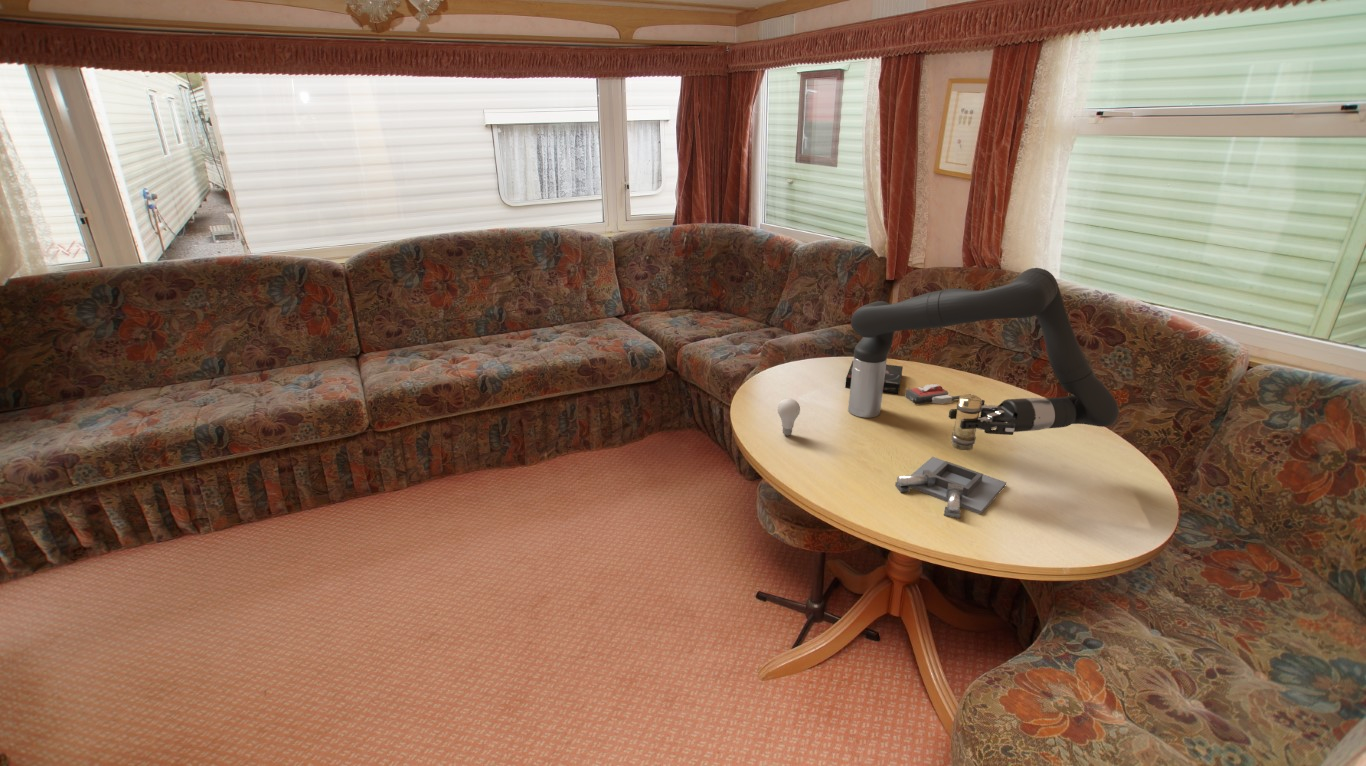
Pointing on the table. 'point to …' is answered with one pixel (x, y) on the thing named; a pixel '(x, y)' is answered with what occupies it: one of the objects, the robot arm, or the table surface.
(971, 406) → the gold cylindrical piece
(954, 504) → the shaft
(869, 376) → the robot arm
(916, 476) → the shaft
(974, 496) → the stand
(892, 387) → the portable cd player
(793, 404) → the lightbulb
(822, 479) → the table surface
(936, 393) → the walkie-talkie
